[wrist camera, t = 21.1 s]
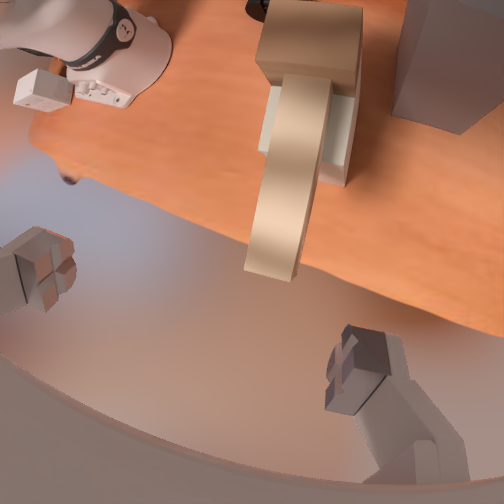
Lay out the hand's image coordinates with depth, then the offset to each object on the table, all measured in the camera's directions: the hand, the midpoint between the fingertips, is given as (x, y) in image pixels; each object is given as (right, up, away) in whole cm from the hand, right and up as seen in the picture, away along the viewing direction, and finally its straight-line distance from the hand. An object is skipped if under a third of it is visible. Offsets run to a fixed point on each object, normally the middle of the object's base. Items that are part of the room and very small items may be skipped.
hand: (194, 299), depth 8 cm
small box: (-38, +34, +44) cm, 67 cm away
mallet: (+6, +10, +16) cm, 19 cm away
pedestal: (+25, +23, +26) cm, 43 cm away
